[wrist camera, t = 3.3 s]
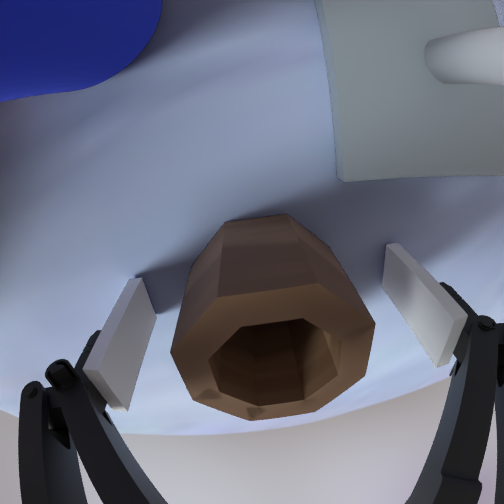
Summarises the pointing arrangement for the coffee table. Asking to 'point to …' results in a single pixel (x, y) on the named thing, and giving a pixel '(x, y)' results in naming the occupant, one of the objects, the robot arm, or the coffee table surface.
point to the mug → (69, 42)
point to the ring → (270, 322)
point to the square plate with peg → (414, 87)
